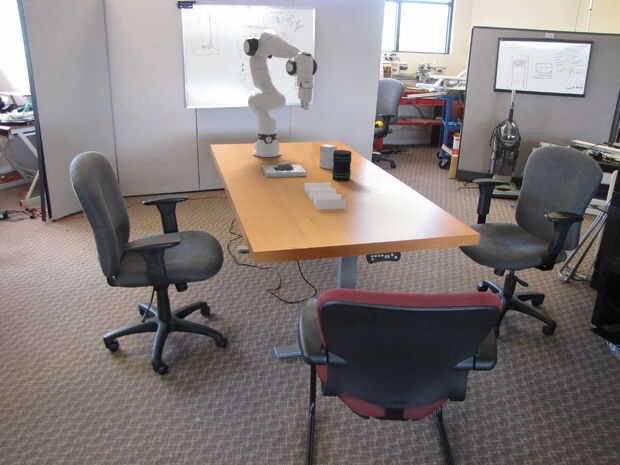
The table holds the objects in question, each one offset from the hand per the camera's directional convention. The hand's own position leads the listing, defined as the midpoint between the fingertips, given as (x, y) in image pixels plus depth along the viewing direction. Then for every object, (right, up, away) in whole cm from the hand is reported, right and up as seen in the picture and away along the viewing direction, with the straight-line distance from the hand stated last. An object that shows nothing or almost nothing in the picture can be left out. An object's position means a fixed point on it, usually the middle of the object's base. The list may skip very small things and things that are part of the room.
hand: (304, 109), depth 287 cm
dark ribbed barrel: (+20, -40, -8) cm, 46 cm away
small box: (+14, -31, +16) cm, 37 cm away
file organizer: (+9, -53, -42) cm, 68 cm away
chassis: (-12, -36, +1) cm, 38 cm away
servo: (-12, -35, +1) cm, 37 cm away
